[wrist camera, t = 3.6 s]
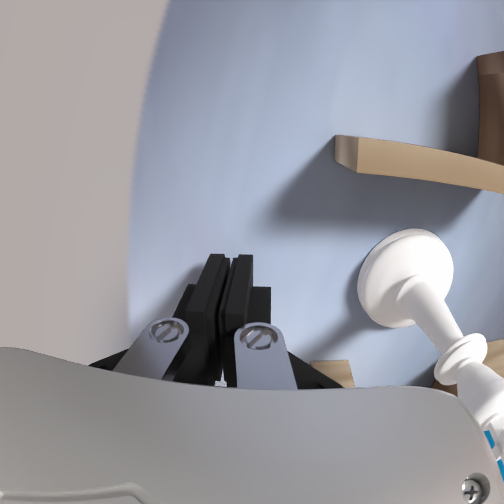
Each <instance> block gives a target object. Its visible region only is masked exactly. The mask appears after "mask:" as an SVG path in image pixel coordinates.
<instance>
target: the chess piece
mask: <svg viewBox="0 0 504 504" xmlns="http://www.w3.org/2000/svg"><path fill="white" fill-rule="evenodd" d="M452 278H453V262H452V258H451V255H450V253H449V251H448V249H447V248H446V246H445V245H444V244H443V242H442V241H441V240H440V239H439V238H438V237H437V236H436V235H435V234H433V233H431V232H429V231H427V230H424V229H417V228H412V229H405V230H401V231H398V232H396V233H394V234H392V235H390V236H388V237H386V238H385V239H384V240H382V241H381V242H380V243H379V244H378V245H377V246H375V248H374V249H373V250H372V251H371V252H370V253H369V255H368V256H367V258H366V259H365V261H364V263H363V265H362V267H361V270H360V273H359V276H358V282H357V293H358V298H359V301H360V303H361V305H362V307H363V309H364V310H365V311H366V312H367V314H368V315H369V317H370V318H371V319H372V320H374V321H375V322H376V323H378V324H380V325H382V326H385V327H390V328H402V327H407V326H411V325H414V324H417V325H418V326H419V327H420V328H421V329H422V330H423V332H424V333H425V334H426V335H427V336H428V338H429V339H430V340H431V341H432V342H433V344H434V345H435V346H436V348H437V349H438V350H439V352H440V353H441V354H442V355H441V357H440V358H439V360H438V361H437V363H436V366H435V369H434V377H435V379H436V380H437V381H439V382H440V383H441V384H443V385H453V384H456V383H457V391H458V398H459V399H461V400H462V401H463V402H464V403H465V404H466V405H467V407H468V408H469V409H470V410H471V412H472V413H473V414H474V416H475V418H476V419H477V421H478V423H479V424H480V426H481V428H482V430H483V431H487V430H489V431H490V433H491V436H492V438H493V440H494V443H495V445H494V447H493V449H492V451H493V454H494V456H495V459H496V461H498V460H499V459H502V462H503V464H504V378H502V377H501V376H499V375H498V374H496V373H495V372H494V371H493V370H492V369H491V368H489V367H487V366H486V365H484V364H482V362H483V360H484V358H485V356H486V354H487V343H486V339H485V337H484V336H483V335H481V334H478V333H474V334H469V335H467V336H464V337H463V335H462V333H461V331H460V329H459V327H458V326H457V324H456V322H455V320H454V318H453V316H452V314H451V313H450V311H449V309H448V307H447V305H446V303H445V301H444V299H445V297H446V295H447V293H448V291H449V289H450V286H451V283H452Z"/></svg>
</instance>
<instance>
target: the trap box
mask: <svg viewBox="0 0 504 504" xmlns="http://www.w3.org/2000/svg"><path fill="white" fill-rule="evenodd" d="M477 64H478V77H479V101H480V119H479V144H478V157H477V158H475V157H471V156H467V155H462V154H458V153H454V152H449V151H444V150H440V149H435V148H430V147H424V146H419V145H413V144H407V143H401V142H394V141H387V140H380V139H372V138H363V137H354V136H344V135H335V159H334V161H336V162H338V163H340V164H342V165H343V166H345V167H347V168H349V169H351V170H353V171H354V172H356V173H365V174H376V175H386V176H396V177H404V178H412V179H420V180H427V181H434V182H441V183H448V184H454V185H460V186H466V187H471V188H477V189H482V190H487V191H492V192H497V193H502V194H504V51H502V52H496V53H490V54H485V55H480V56H477ZM482 364H484V365H486V366H487V367H489V368H491V369H492V370H493V371H494V372H495V373H496V374H498V375H499V376H501V377H502V378H504V339H500V340H496V341H492V342H487V354H486V356H485V358H484V360H483V362H482ZM311 366H312V367H313V368H315V369H316V370H318V371H320V372H321V373H323V374H324V375H326V376H328V377H329V378H331V379H333V380H334V381H336V382H337V383H339V384H340V385H342V386H343V387H344V388H355V385H354V381H353V377H352V373H351V369H350V365H349V362H348V360H339V361H312V362H311ZM431 388H432V389H438V390H441V391H445V392H448V393H450V394H453V395H455V396H456V397H458V391H457V383H456V384H453V385H443V384H441V383H440V382H439V381H437V380H435V382H434V383H433V385H432V387H431Z"/></svg>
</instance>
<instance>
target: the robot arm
mask: <svg viewBox="0 0 504 504" xmlns="http://www.w3.org/2000/svg"><path fill="white" fill-rule="evenodd" d="M222 370H223V372H224V381H226V382H227V387H220V386H214V385H215V381H220V380H221V376H222ZM0 504H504V482H503V479H502V476H501V473H500V470H499V467H498V464H497V461H496V459H495V456H494V454H493V451H492V449H491V447H490V444H489V442H488V440H487V438H486V436H485V434H484V432H483V430H482V428H481V426H480V424H479V423H478V421H477V419H476V418H475V416H474V414H473V413H472V412H471V410H470V409H469V408H468V407H467V405H466V404H465V403H464V402H463V401H462V400H461V399H459V398H458V397H456V396H455V395H453V394H450V393H448V392H445V391H441V390H438V389H432V388H426V387H419V386H376V387H357V388H344V387H343V386H342V385H340V384H339V383H337V382H336V381H334V380H333V379H331V378H329V377H328V376H326V375H324V374H323V373H321V372H320V371H318V370H316V369H315V368H313V367H312V366H310V365H309V364H307V363H305V362H304V361H302V360H301V359H299V358H298V357H296V356H295V355H293V354H291V353H290V352H288V351H287V348H286V345H285V341H284V337H283V335H282V333H281V331H280V330H279V329H278V328H277V327H275V326H273V325H271V287H253V255H241V254H239V256H238V258H233V261H232V265H231V268H230V258H225V255H224V254H210V256H209V258H208V260H207V262H206V265H205V267H204V269H203V271H202V274H201V276H200V278H199V280H198V283H197V284H188V286H187V288H186V290H185V292H184V294H183V296H182V298H181V300H180V302H179V304H178V306H177V309H176V311H175V313H174V315H173V317H172V318H170V317H168V318H161V319H158V320H155V321H153V322H152V323H150V324H149V325H148V326H147V327H146V328H145V329H144V331H143V332H142V333H141V334H140V336H139V337H138V338H137V339H136V341H135V342H134V343H133V345H132V346H131V347H130V348H129V349H127V350H124V351H121V352H119V353H117V354H114V355H112V356H109V357H107V358H104V359H102V360H99V361H97V362H95V363H92V364H90V365H88V366H86V365H82V364H78V363H74V362H70V361H66V360H63V359H59V358H55V357H52V356H48V355H44V354H40V353H37V352H33V351H29V350H25V349H19V348H10V347H0Z"/></svg>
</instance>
